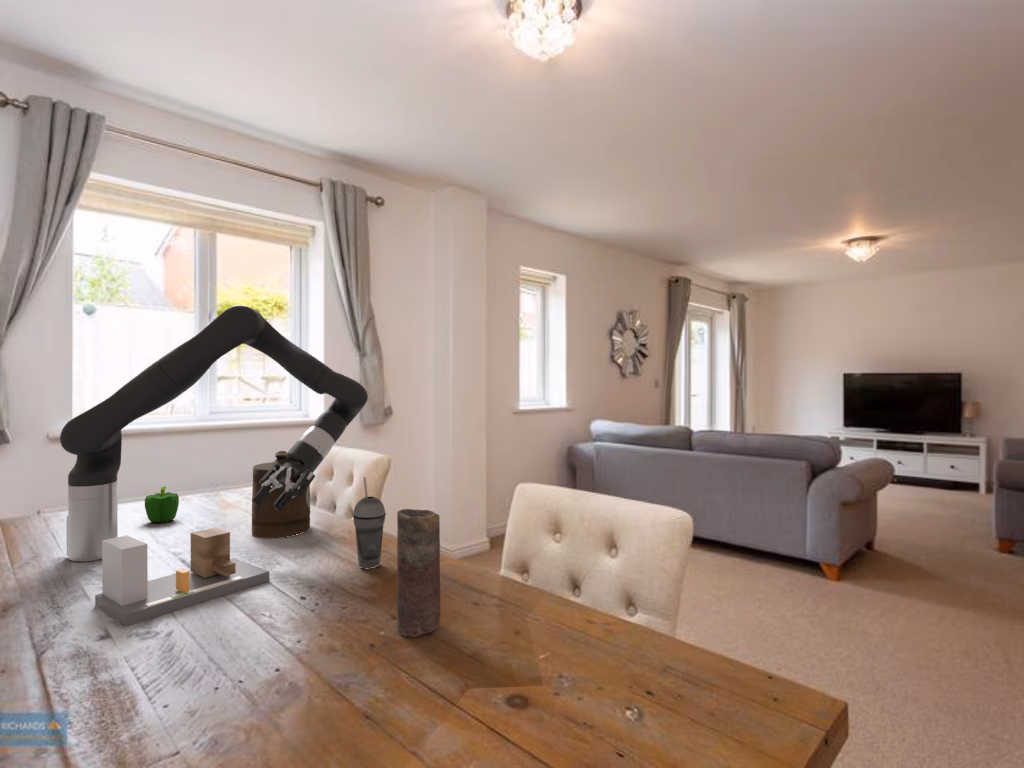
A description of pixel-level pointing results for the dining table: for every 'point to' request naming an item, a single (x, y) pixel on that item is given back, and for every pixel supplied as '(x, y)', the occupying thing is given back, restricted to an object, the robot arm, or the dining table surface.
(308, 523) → the wooden container
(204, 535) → the brown block
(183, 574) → the pointer
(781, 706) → the dining table surface
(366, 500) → the beverage cup
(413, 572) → the rough stone vase
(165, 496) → the bell pepper
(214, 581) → the gauge base
